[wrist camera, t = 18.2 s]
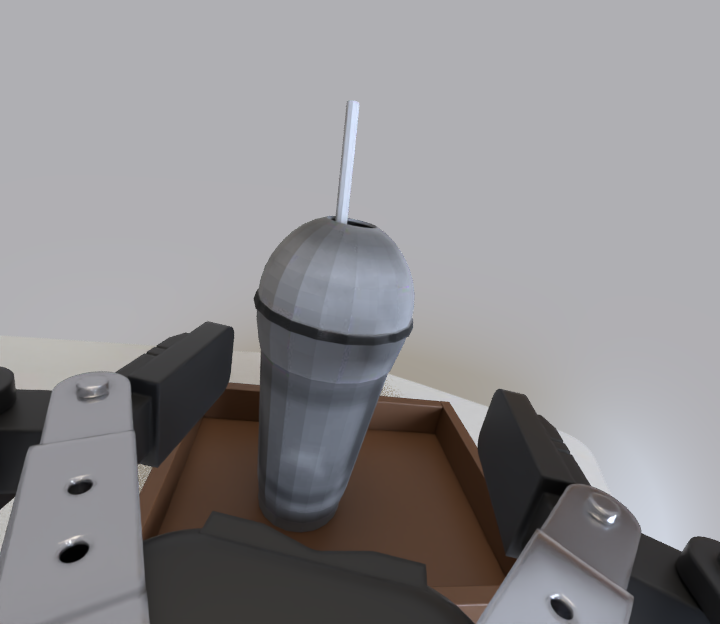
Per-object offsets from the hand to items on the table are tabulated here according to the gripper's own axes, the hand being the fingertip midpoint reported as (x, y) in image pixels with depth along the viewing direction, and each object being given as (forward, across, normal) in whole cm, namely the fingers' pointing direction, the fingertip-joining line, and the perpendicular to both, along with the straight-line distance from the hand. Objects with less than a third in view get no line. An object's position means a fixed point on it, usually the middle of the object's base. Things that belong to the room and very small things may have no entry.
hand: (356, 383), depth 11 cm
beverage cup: (+6, +2, +12) cm, 13 cm away
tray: (+7, 0, +12) cm, 14 cm away
